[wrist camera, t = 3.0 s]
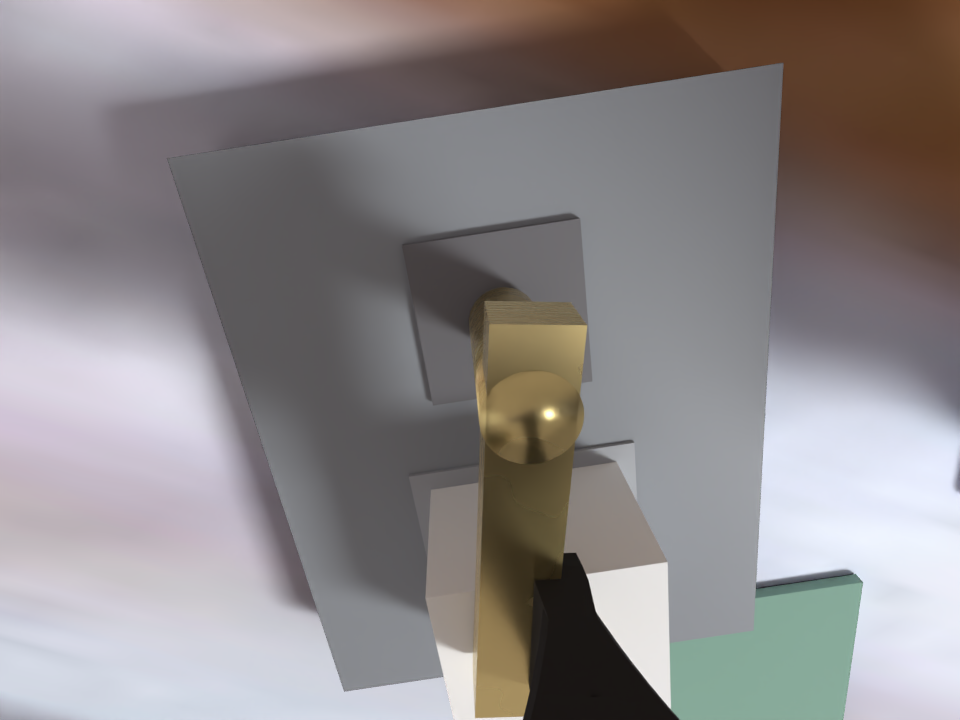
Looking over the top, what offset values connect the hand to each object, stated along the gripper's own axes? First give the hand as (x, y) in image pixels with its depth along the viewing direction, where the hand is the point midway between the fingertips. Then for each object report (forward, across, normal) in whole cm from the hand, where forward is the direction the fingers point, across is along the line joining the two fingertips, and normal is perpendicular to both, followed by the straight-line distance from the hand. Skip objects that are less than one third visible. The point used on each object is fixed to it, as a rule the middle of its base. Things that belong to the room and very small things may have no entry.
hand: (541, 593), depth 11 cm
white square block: (+4, 0, +2) cm, 5 cm away
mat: (+7, -9, +11) cm, 16 cm away
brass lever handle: (+4, +1, -2) cm, 4 cm away
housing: (+7, 0, -1) cm, 7 cm away
